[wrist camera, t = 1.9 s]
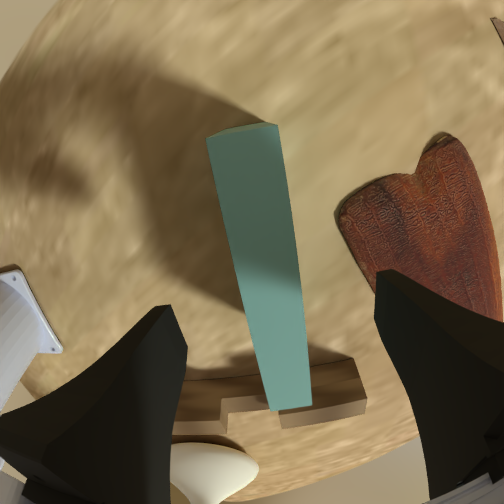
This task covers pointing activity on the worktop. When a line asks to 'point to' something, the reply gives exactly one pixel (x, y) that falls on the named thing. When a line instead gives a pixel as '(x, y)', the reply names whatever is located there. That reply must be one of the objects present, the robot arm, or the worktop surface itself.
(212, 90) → the worktop surface
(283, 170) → the teal arch block
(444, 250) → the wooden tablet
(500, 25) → the wooden fragment
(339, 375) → the brown wooden bar
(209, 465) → the flower in vase
